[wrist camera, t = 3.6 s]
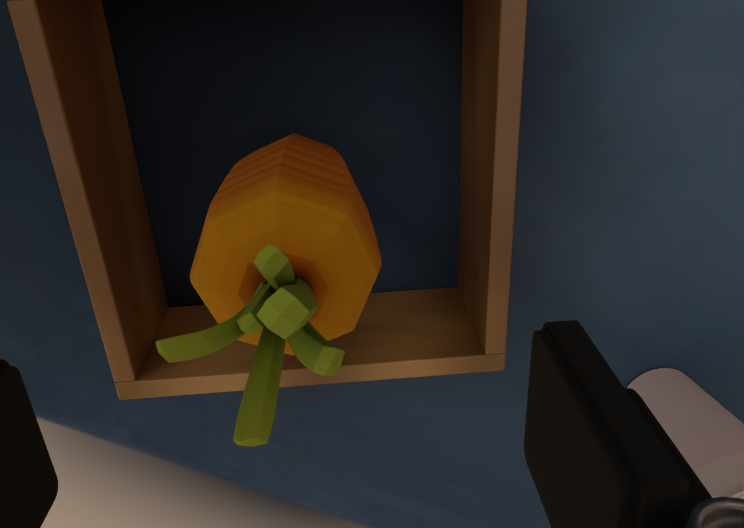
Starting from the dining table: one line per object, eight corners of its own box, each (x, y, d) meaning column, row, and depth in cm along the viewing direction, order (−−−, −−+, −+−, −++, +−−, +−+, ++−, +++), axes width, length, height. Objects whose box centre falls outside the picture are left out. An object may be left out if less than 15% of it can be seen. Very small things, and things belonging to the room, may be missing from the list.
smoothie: (657, 324, 30) (897, 587, 17) (743, 380, 32) (1016, 653, 19) (569, 414, 32) (726, 707, 19) (655, 461, 34) (849, 756, 21)
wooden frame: (155, 323, 28) (118, 400, 23) (71, -35, 21) (-5, -33, 17) (474, 300, 29) (504, 371, 24) (485, -55, 22) (532, -59, 17)
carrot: (307, 235, 27) (287, 518, 13) (213, 160, 25) (80, 396, 11) (387, 152, 25) (456, 373, 12) (294, 66, 23) (250, 209, 10)
